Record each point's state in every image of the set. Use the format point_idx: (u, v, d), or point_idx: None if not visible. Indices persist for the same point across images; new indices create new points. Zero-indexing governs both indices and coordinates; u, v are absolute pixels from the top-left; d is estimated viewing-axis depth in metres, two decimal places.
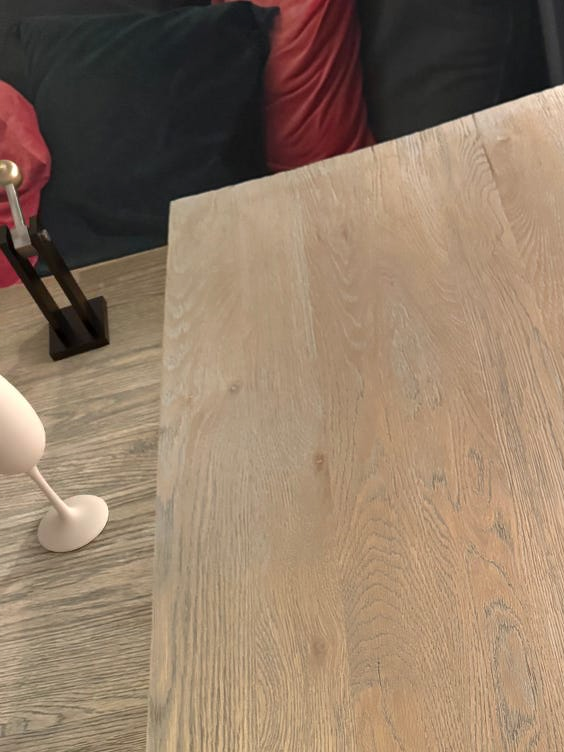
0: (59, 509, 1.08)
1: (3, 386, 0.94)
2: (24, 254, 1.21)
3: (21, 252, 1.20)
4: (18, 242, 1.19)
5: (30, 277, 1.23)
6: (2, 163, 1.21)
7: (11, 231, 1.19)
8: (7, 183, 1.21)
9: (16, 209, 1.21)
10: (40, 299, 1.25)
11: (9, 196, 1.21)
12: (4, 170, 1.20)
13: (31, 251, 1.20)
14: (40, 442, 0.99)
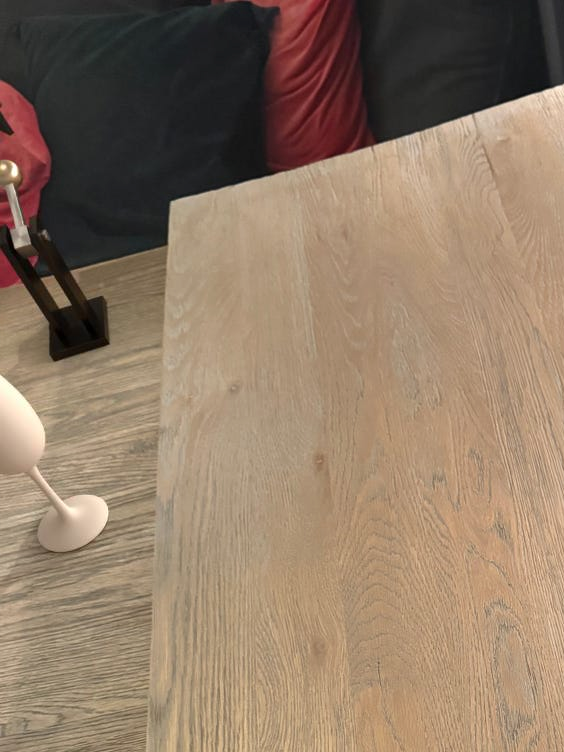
0: (59, 509, 1.08)
1: (3, 386, 0.94)
2: (24, 254, 1.21)
3: (21, 252, 1.20)
4: (18, 242, 1.19)
5: (30, 277, 1.23)
6: (2, 163, 1.21)
7: (11, 231, 1.19)
8: (7, 183, 1.21)
9: (16, 209, 1.21)
10: (40, 299, 1.25)
11: (9, 196, 1.21)
12: (4, 170, 1.20)
13: (31, 251, 1.20)
14: (40, 442, 0.99)
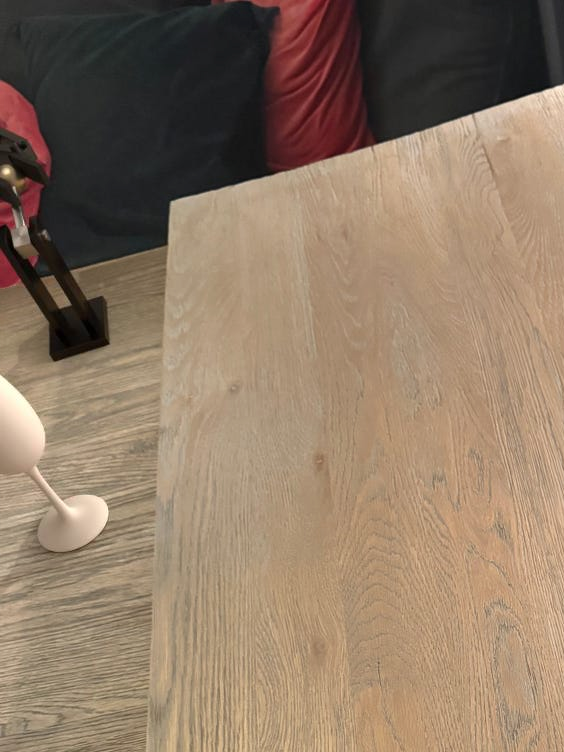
0: (59, 509, 1.08)
1: (3, 386, 0.94)
2: (24, 254, 1.20)
3: (20, 251, 1.20)
4: (18, 241, 1.19)
5: (30, 277, 1.23)
6: (5, 167, 1.21)
7: (11, 231, 1.20)
8: None
9: (17, 211, 1.21)
10: (40, 299, 1.25)
11: None
12: (7, 173, 1.21)
13: (31, 251, 1.20)
14: (40, 442, 0.99)
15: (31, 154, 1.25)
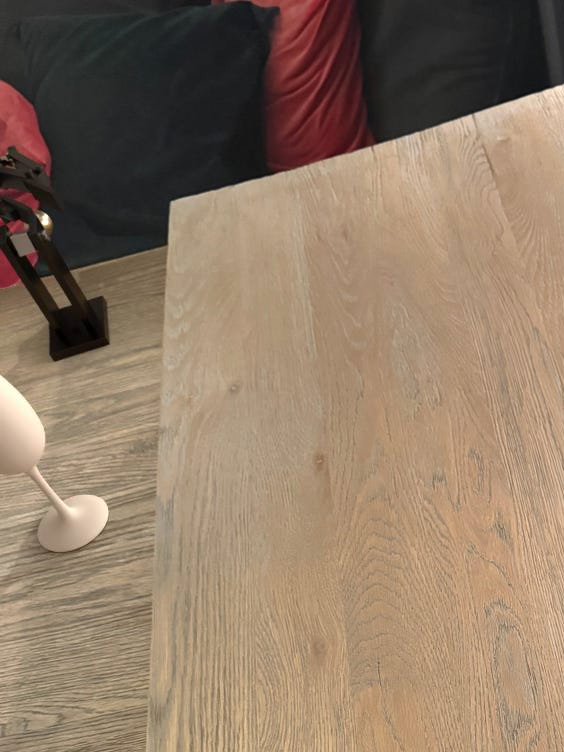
0: (59, 509, 1.08)
1: (3, 386, 0.94)
2: (20, 249, 1.20)
3: (16, 244, 1.19)
4: (16, 234, 1.19)
5: (30, 277, 1.23)
6: None
7: None
8: None
9: None
10: (40, 299, 1.25)
11: None
12: None
13: (27, 245, 1.19)
14: (40, 442, 0.99)
15: (45, 179, 1.28)
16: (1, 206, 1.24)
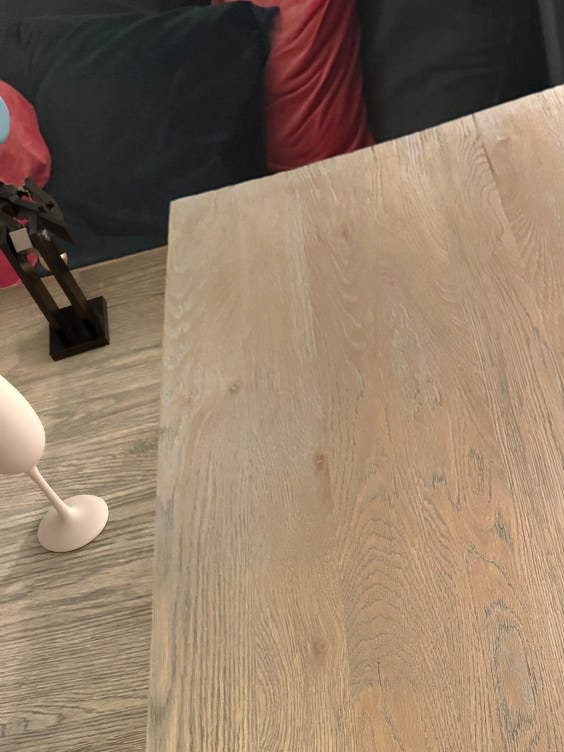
0: (59, 509, 1.08)
1: (3, 386, 0.94)
2: (17, 244, 1.19)
3: (14, 239, 1.19)
4: None
5: (30, 277, 1.23)
6: None
7: None
8: None
9: None
10: (40, 299, 1.25)
11: None
12: None
13: (24, 240, 1.19)
14: (40, 442, 0.99)
15: (57, 213, 1.31)
16: None
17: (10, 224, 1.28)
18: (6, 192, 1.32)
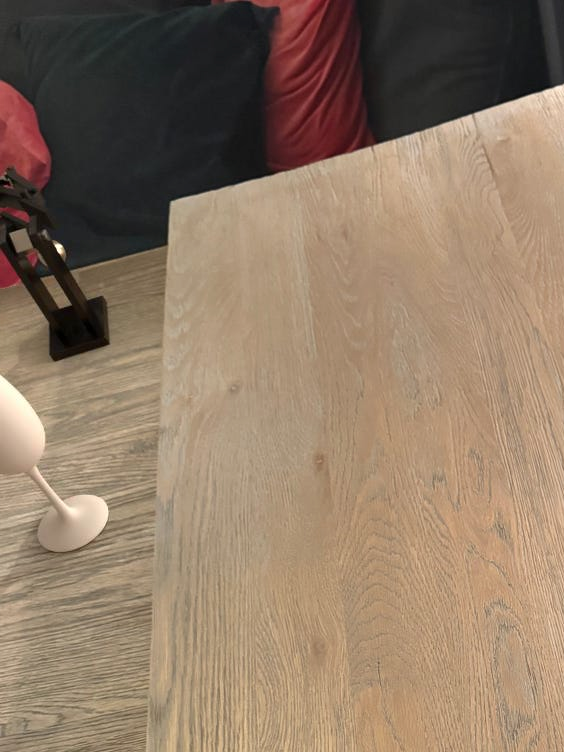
0: (59, 509, 1.08)
1: (3, 386, 0.94)
2: (17, 244, 1.19)
3: (15, 240, 1.19)
4: None
5: (30, 277, 1.23)
6: None
7: None
8: None
9: None
10: (40, 299, 1.25)
11: None
12: None
13: (24, 240, 1.19)
14: (40, 442, 0.99)
15: (39, 199, 1.33)
16: (0, 221, 1.29)
17: None
18: None
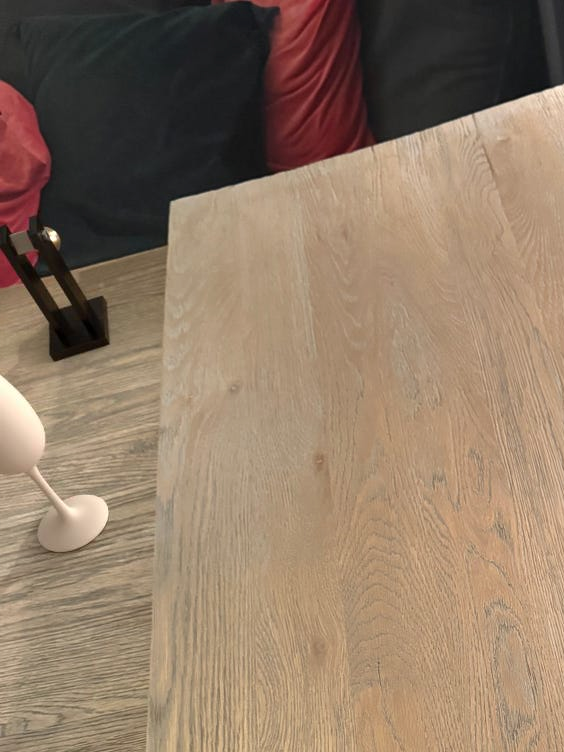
0: (59, 509, 1.08)
1: (3, 386, 0.94)
2: (18, 246, 1.19)
3: (15, 242, 1.19)
4: (15, 233, 1.19)
5: (30, 277, 1.23)
6: None
7: None
8: None
9: None
10: (40, 299, 1.25)
11: None
12: None
13: (25, 242, 1.19)
14: (40, 442, 0.99)
15: None
16: None
17: None
18: None
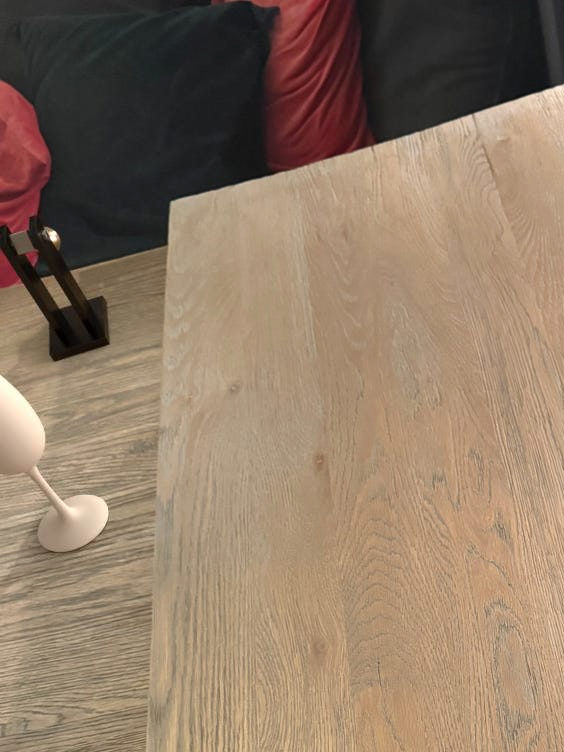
0: (59, 509, 1.08)
1: (3, 386, 0.94)
2: (18, 246, 1.19)
3: (15, 242, 1.19)
4: (15, 233, 1.19)
5: (30, 277, 1.23)
6: None
7: None
8: None
9: None
10: (40, 299, 1.25)
11: None
12: None
13: (25, 242, 1.19)
14: (40, 442, 0.99)
15: None
16: None
17: None
18: None
